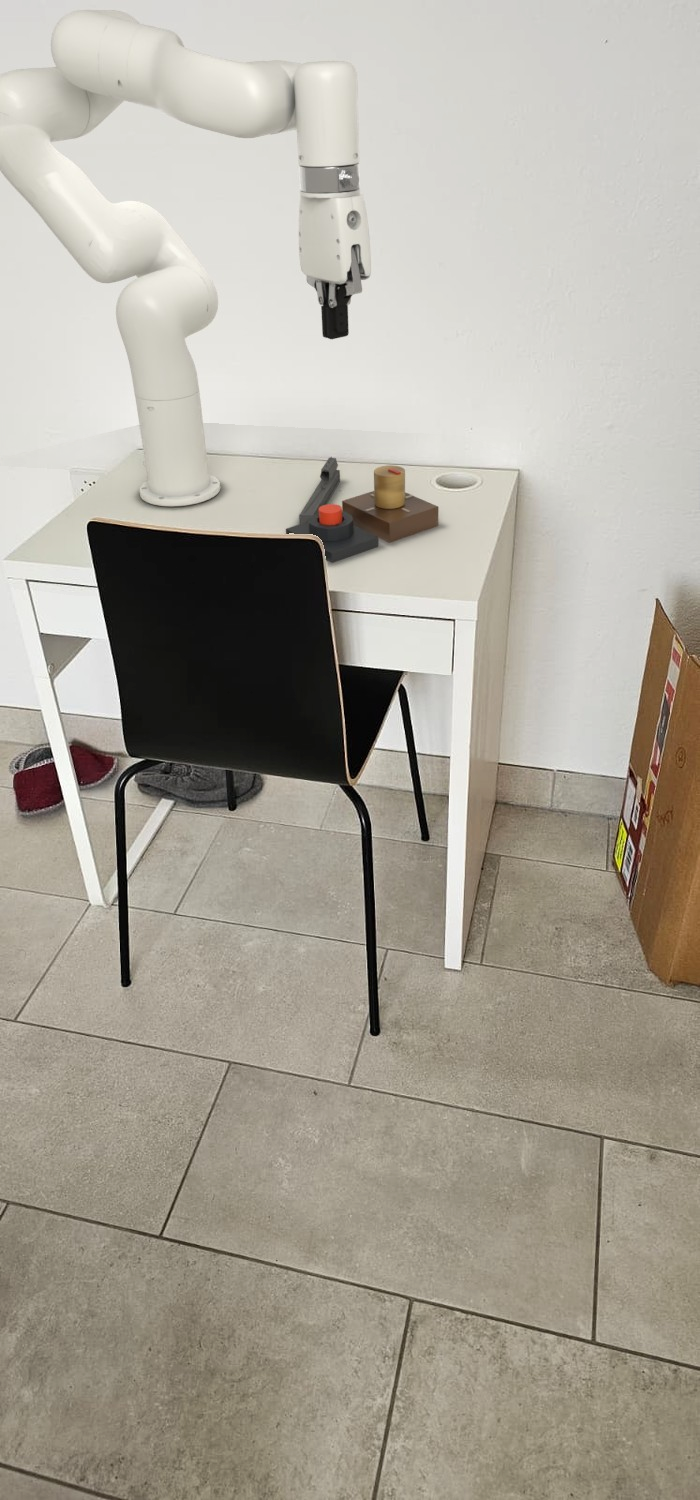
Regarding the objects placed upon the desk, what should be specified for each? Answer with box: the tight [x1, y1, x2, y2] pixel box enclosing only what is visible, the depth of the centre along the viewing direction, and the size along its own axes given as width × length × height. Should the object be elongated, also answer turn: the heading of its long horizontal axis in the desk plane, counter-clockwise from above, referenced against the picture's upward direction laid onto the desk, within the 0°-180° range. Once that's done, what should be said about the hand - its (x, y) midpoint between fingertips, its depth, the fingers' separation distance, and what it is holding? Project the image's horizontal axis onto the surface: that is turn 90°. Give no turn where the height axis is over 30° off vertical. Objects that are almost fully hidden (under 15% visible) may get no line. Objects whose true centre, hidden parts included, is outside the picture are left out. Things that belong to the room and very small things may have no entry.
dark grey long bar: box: [298, 456, 341, 524], centre depth 153 cm, size 19×3×4 cm, turn 168°
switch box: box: [285, 512, 379, 564], centre depth 141 cm, size 11×8×4 cm
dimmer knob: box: [373, 464, 406, 509], centre depth 144 cm, size 4×4×5 cm
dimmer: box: [341, 490, 439, 544], centre depth 146 cm, size 11×9×3 cm
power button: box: [319, 503, 342, 525], centre depth 140 cm, size 3×3×2 cm
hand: (335, 336), depth 136 cm, fingers closed
